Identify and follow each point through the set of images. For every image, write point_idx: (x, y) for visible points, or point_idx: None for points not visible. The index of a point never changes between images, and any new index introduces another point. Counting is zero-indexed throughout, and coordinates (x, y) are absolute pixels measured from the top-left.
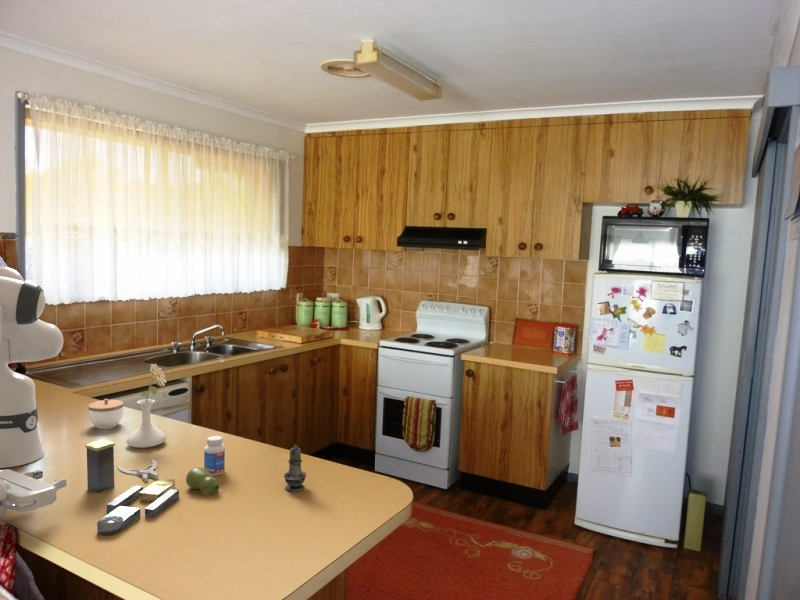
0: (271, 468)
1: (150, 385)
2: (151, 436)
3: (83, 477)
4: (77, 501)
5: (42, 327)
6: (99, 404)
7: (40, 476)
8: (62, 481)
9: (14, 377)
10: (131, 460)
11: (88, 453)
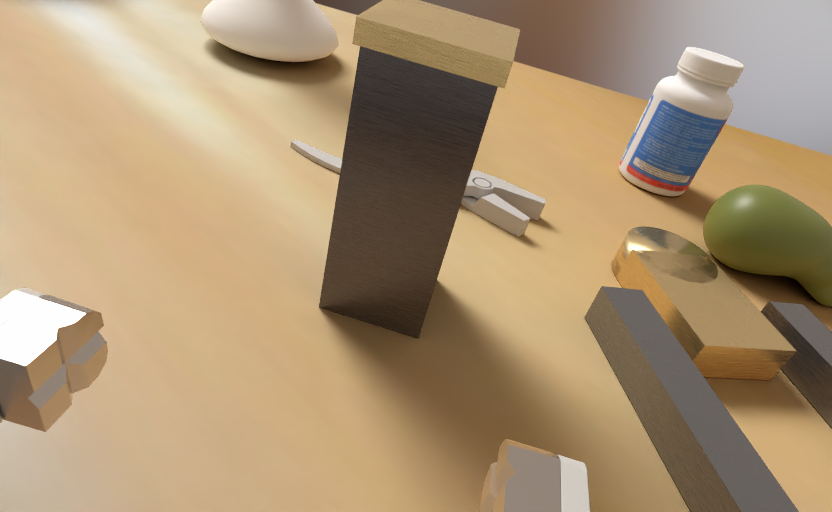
0: (747, 166)
1: None
2: (313, 21)
3: (196, 211)
4: (387, 446)
5: None
6: None
7: (87, 368)
8: (583, 508)
9: None
10: (305, 114)
11: (374, 95)
